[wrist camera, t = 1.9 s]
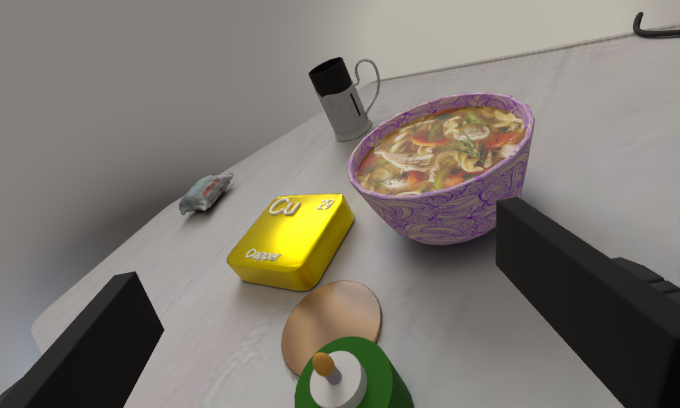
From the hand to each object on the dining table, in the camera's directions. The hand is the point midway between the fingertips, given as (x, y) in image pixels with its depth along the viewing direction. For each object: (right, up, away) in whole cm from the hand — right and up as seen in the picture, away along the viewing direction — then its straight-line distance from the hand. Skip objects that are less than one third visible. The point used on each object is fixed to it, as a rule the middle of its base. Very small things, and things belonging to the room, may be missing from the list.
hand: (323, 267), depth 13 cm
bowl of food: (+15, +1, +31) cm, 35 cm away
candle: (+3, -16, +17) cm, 24 cm away
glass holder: (+6, +19, +64) cm, 67 cm away
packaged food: (-29, +3, +67) cm, 73 cm away
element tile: (-6, -4, +40) cm, 41 cm away
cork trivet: (0, -11, +26) cm, 28 cm away
